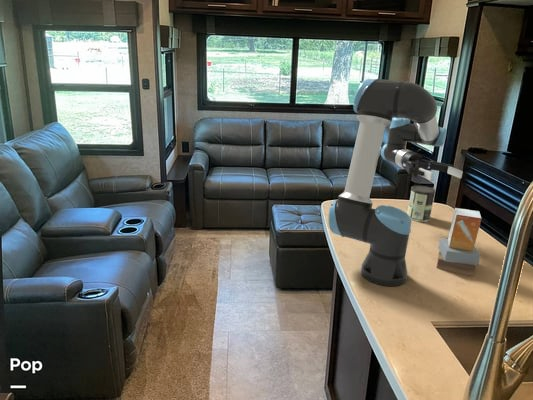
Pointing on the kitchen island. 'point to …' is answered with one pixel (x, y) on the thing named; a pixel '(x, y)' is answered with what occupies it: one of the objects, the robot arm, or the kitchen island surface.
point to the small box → (464, 229)
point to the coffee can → (420, 203)
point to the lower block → (455, 266)
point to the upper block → (458, 254)
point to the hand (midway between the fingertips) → (446, 175)
